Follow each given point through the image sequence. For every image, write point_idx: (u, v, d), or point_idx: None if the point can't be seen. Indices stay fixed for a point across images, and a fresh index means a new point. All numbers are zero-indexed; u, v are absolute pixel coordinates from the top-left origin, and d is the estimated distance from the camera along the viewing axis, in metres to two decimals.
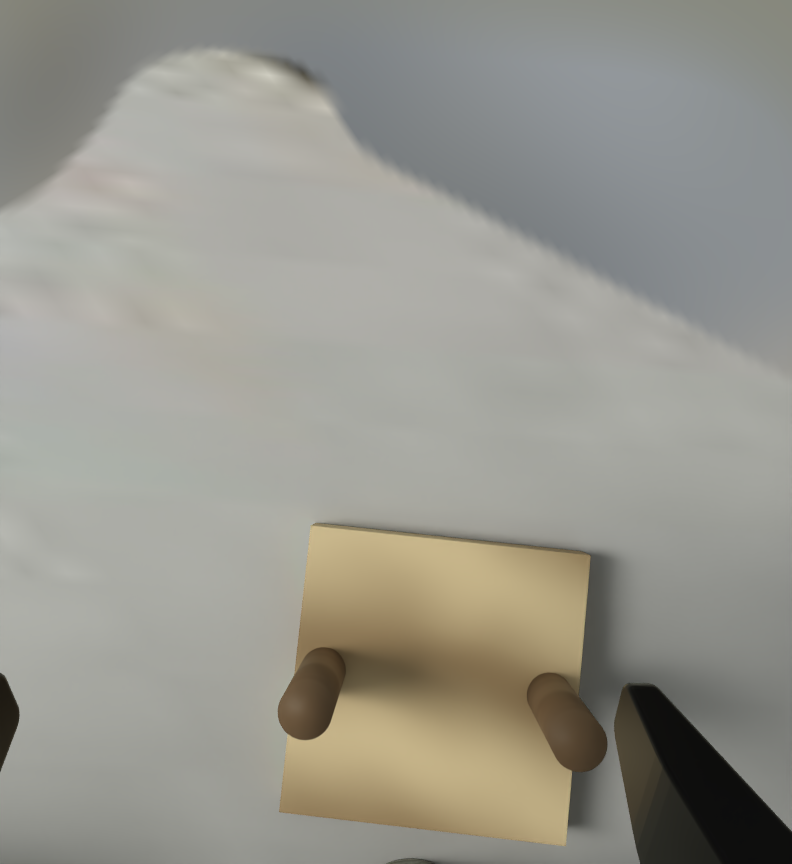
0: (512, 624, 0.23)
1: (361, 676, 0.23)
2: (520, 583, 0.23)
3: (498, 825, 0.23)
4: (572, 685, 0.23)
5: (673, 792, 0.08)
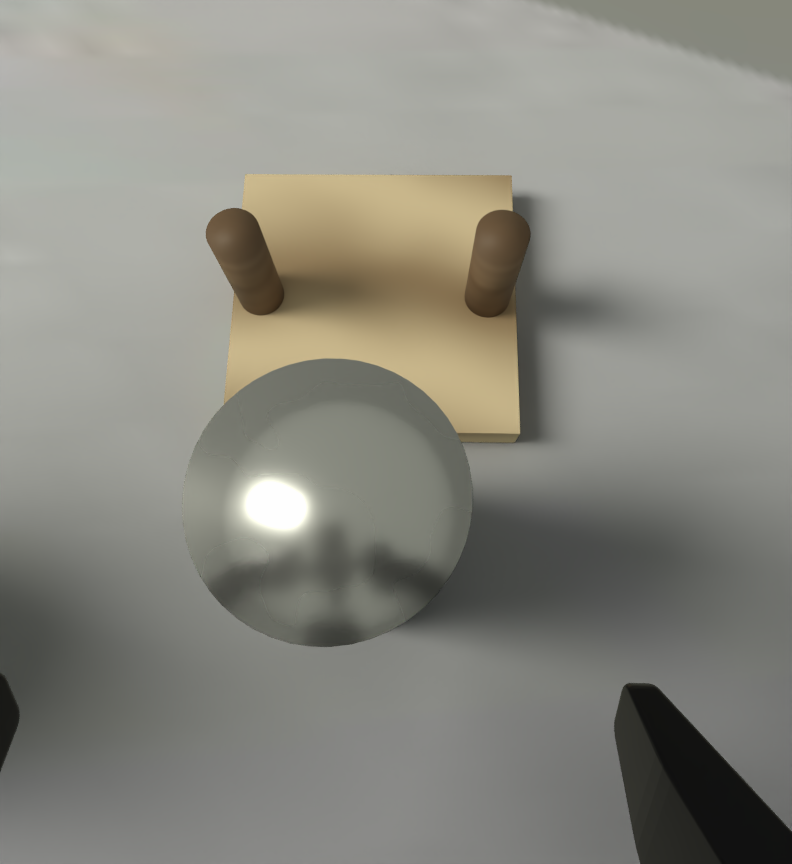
0: (444, 238, 0.24)
1: (300, 296, 0.23)
2: (447, 204, 0.24)
3: None
4: None
5: (673, 792, 0.08)
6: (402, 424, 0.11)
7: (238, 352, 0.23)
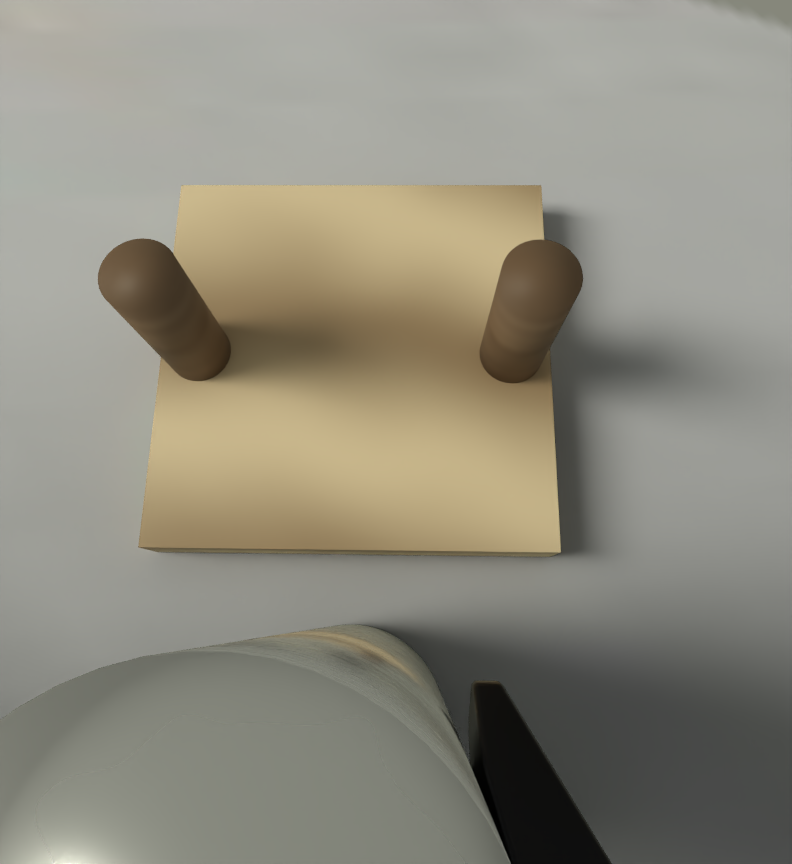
0: (450, 272, 0.17)
1: (252, 354, 0.17)
2: (455, 224, 0.18)
3: (459, 533, 0.15)
4: None
5: (489, 788, 0.08)
6: (374, 838, 0.04)
7: (165, 434, 0.16)
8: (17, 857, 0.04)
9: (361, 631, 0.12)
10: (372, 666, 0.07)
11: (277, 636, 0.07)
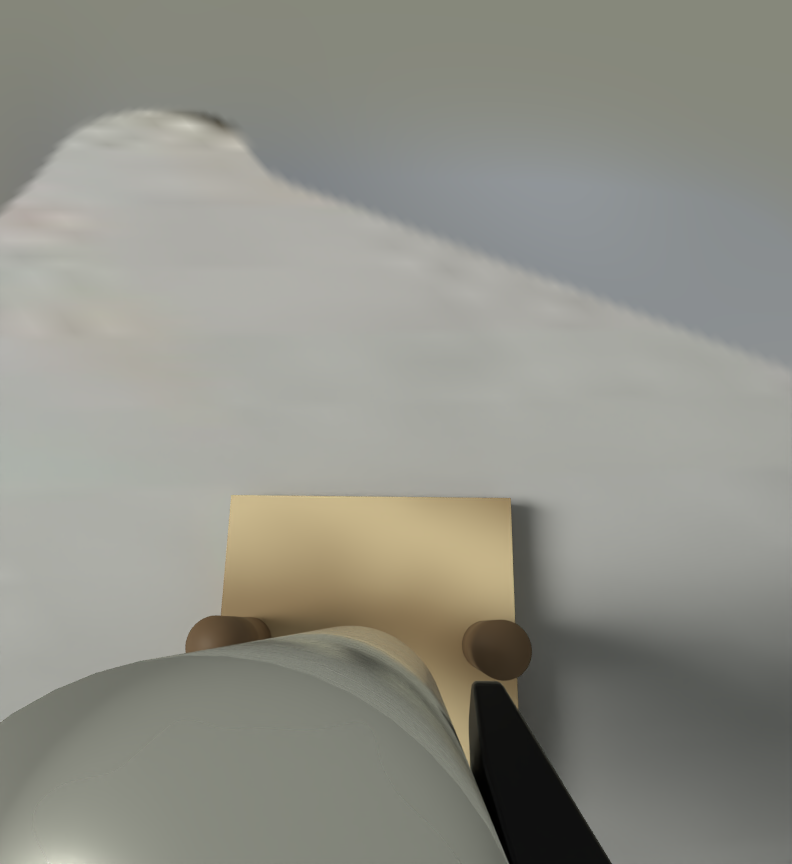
0: (440, 574, 0.22)
1: None
2: (443, 532, 0.23)
3: None
4: None
5: (488, 788, 0.08)
6: (374, 843, 0.04)
7: None
8: (14, 863, 0.04)
9: (361, 632, 0.12)
10: (372, 669, 0.06)
11: (276, 639, 0.07)
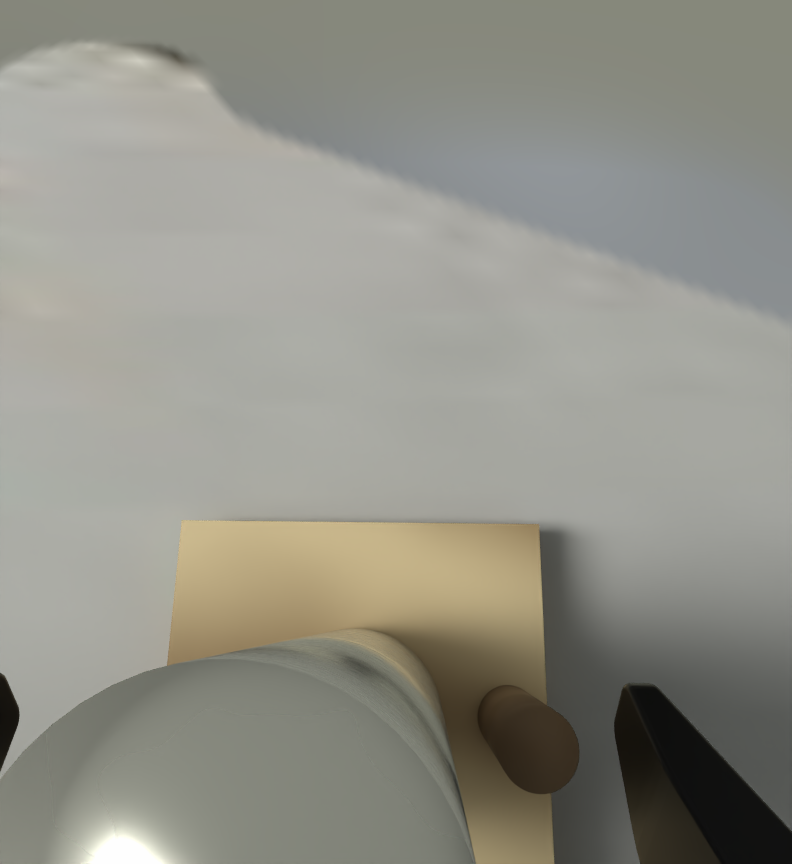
0: (448, 623, 0.17)
1: None
2: (453, 568, 0.18)
3: None
4: (537, 700, 0.17)
5: (673, 792, 0.08)
6: (355, 801, 0.05)
7: None
8: (84, 815, 0.06)
9: (362, 636, 0.14)
10: (362, 669, 0.08)
11: (284, 643, 0.09)
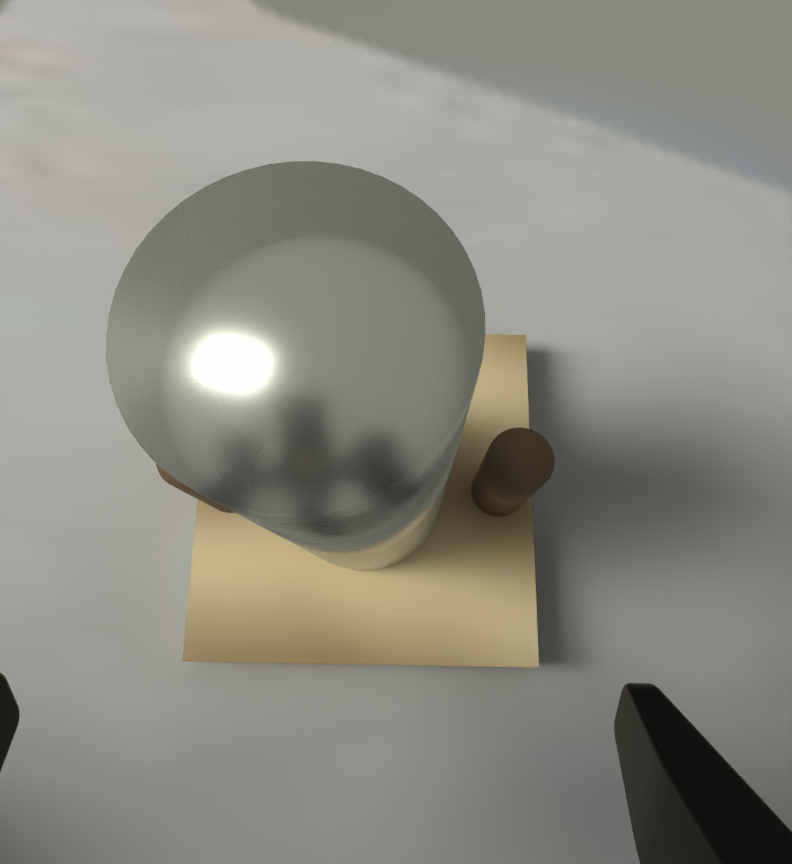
0: None
1: None
2: None
3: (453, 650, 0.18)
4: None
5: (673, 792, 0.08)
6: (393, 238, 0.08)
7: (203, 560, 0.19)
8: (210, 249, 0.08)
9: None
10: None
11: None
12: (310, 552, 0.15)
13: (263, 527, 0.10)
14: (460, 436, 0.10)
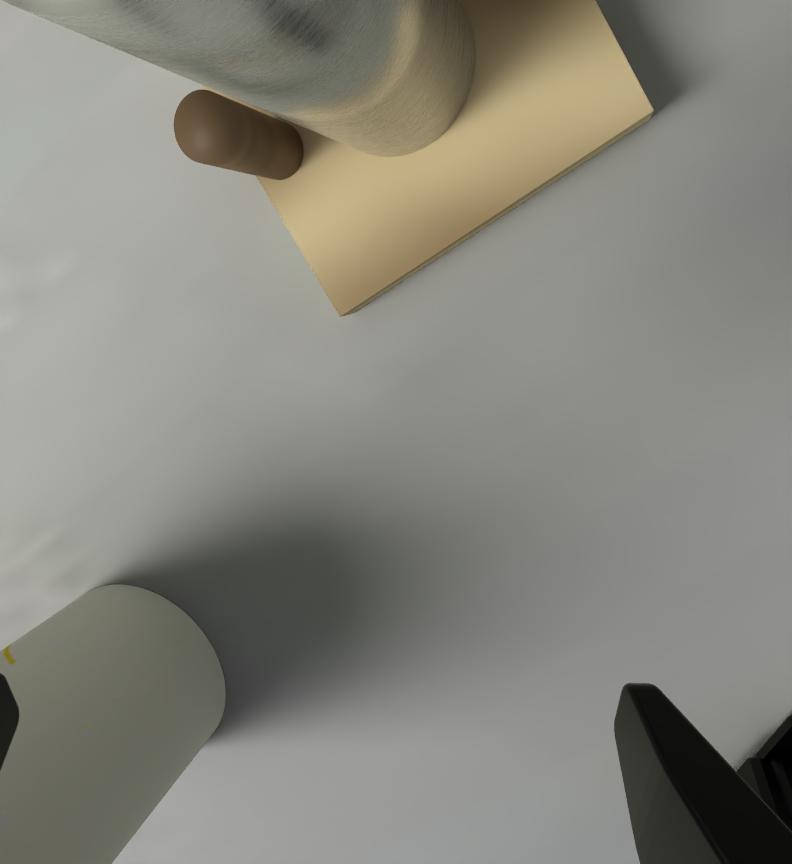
0: None
1: None
2: None
3: (559, 153, 0.17)
4: None
5: (673, 792, 0.08)
6: None
7: (300, 230, 0.20)
8: None
9: None
10: None
11: None
12: (355, 131, 0.14)
13: (248, 81, 0.10)
14: None
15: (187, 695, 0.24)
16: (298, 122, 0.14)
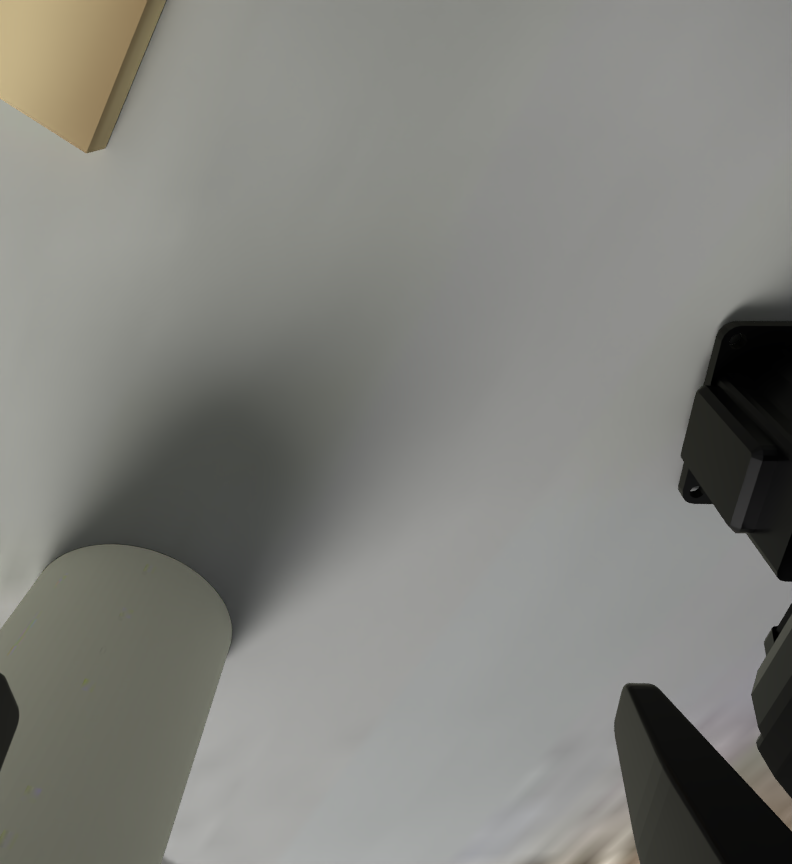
0: None
1: None
2: None
3: None
4: None
5: (673, 792, 0.08)
6: None
7: None
8: None
9: None
10: None
11: None
12: None
13: None
14: None
15: (178, 614, 0.24)
16: None
